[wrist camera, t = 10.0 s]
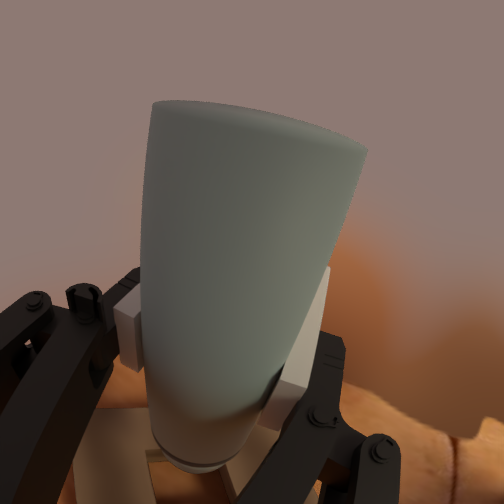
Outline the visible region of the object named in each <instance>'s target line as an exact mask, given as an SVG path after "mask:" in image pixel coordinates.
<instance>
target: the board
mask: <svg viewBox="0 0 504 504" xmlns="http://www.w3.org/2000/svg"><path fill="white" fill-rule="evenodd" d="M260 414H261V413H260ZM259 417H260V415H259ZM259 417H258V419H257V421H256V423H255V425H254V427H253V429H252V431H251V432H250V434H249V436H248V438H247V440H246V442H245V444H244V445H243V447H242V449H241V450H240V452H239V453H238V454H237V455H236V456H235V457H234V458H232V459H231V460H229V461H228V462H226V463H225V464H224V465H223V466H222V467H220V468H218V469H219V472H220V475H221V478H222V481H223V484H224V487H225V490H226V493H227V496H228V499H229V501H230V504H232V503H233V501H234V500H235V499H236V498H237V496H238V495H239V494H240V492H241V491H242V489H243V488H244V487H245V485H246V484H247V483H248V481H249V480H250V478H251V477H252V476H253V474H254V473H255V471H256V470H257V468H258V467H259V466H260V464H261V463H262V461H263V460H264V458H265V457H266V455H267V454H268V452H269V450H270V448H271V447H272V446H273V444H274V443H275V442H276V440H277V439H278V438H279V435H280V431H281V429H280V430H279V432H278V431H275V430H272V429H269V428H266V427H263V426H260V425H257V422H258V420H259ZM281 428H282V427H281ZM161 461H169V460H168V459H167V458H166V457H165V456H164V454H163V452H162V450H161V448H160V447H159V446H158V444H157V443H156V441H155V439H154V437H153V434H152V430H151V423H150V416H149V408H95V410H94V412H93V414H92V417H91V419H90V421H89V423H88V426H87V428H86V430H85V433H84V435H83V437H82V440H81V442H80V444H79V447H78V449H77V452H76V454H75V457H74V459H73V473H74V483H75V492H76V500H77V504H157V501H156V497H155V493H154V489H153V484H152V480H151V475H150V470H149V465H148V462H161ZM318 499H319V498H318V496H317V494H316V492H315V490H314V488H313V487H312V489H311V491H310V493H309V495H308V497H307V498H306V500H305V502H304V504H317V503H318Z"/></svg>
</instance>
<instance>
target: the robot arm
mask: <svg viewBox="0 0 504 504" xmlns="http://www.w3.org/2000/svg"><path fill="white" fill-rule="evenodd" d="M329 274H330V267H328V266H327V268H326V270H325V273H324V275H323V278H322V280H321V282H320V285H319V287H318V290H317V292H316V295H315V297H314V299H313V302H312V304H311V306H310V309H309V311H308V314H307V316H306V318H305V320H304V323H303V325H302V327H301V330H300V332H299V334H298V336H297V338H296V341H295V343H294V345H293V347H292V350H291V352H290V354H289V356H288V358H287V360H286V361H285V364H284V366H283V368H282V370H281V372H280V374H279V376H278V378H277V380H276V382H275V384H274V387H273V389H272V391H271V393H270V395H269V397H268V399H267V401H266V403H265V405H264V407H263V409H262V411H261V414H260V417H259V420H258V422H257V425H260V426H263V427H266V428H269V429H272V430H275V431H278V432H279V430H280V429H281V431H280V435H279V438H278V439H277V440H276V442H275V443H274V444H273V446H272V447H271V448H270V450H269V452H268V454H267V455H266V457H265V458H264V460H263V461H262V463H261V464H260V466H259V467H258V468H257V470H256V471H255V473H254V474H253V476H252V477H251V478H250V480H249V481H248V483H247V484H246V485H245V487H244V488H243V489H242V491H241V492H240V494H239V495H238V496H237V498H236V499H235V500H234V501H233V503H232V504H304V502H305V500H306V498H307V497H308V495H309V493H310V491H311V489H312V487H313V486H314V484H315V482H316V480H317V479H318V480H320V481H321V482H322V485H321V490H320V494H319V499H318V503H317V504H398V503H399V489H400V469H401V453H400V448H399V446H398V444H397V443H396V441H395V440H393V439H392V438H391V437H390V436H387V435H385V434H373V435H371V436H368V437H366V436H364V435H363V434H361V433H359V432H358V431H356V430H354V429H353V428H351V427H350V426H349V425H348V424H347V423H346V422H345V421H344V420H343V418H342V416H341V412H340V410H339V402H340V394H341V387H342V379H343V369H344V360H345V352H346V348H345V346H344V343H343V340H342V338H341V337H338V336H335V335H332V334H329V333H326V332H323V331H320V326H321V321H322V316H323V310H324V305H325V299H326V293H327V287H328V280H329ZM65 292H66V296H67V301H68V306H69V309H66V308H62V307H58V306H55V305H52V302H51V298H50V296H49V295H48V294H47V293H45V292H43V291H33V292H29V293H27V294H25V295H24V296H23V297H21V298H20V299H18V300H17V301H16V302H14V303H13V304H12V305H11V306H9V307H8V308H7V309H5V310H4V311H3V312H2V313H0V504H57V501H58V498H59V496H60V493H61V490H62V487H63V485H64V482H65V479H66V477H67V474H68V472H69V469H70V467H71V464H72V461H73V459H74V457H75V454H76V452H77V449H78V447H79V444H80V442H81V440H82V437H83V435H84V433H85V430H86V428H87V426H88V423H89V421H90V419H91V417H92V414H93V412H94V410H95V408H96V405H97V403H98V401H99V399H100V397H101V395H102V392H103V390H104V388H105V386H106V384H107V382H108V380H109V378H110V376H111V374H112V371H113V367H114V364H113V360H114V359H115V358H116V357H117V356H118V354H119V355H120V361H121V363H122V364H123V365H125V366H127V367H129V368H131V369H132V370H134V371H136V372H138V373H139V371H140V370H141V369H142V368H143V366H144V359H143V344H142V326H141V297H140V267H138V268H135V269H133V270H131V271H130V272H129V273H128V274H127V275H126V276H125V277H124V278H122V279H121V280H120V281H118V283H117V284H115V285H114V286H113V287H111V288H110V289H109V290H108V291H107V292H106V293H105V294H104V295H102V292H101V290H100V289H99V288H98V287H97V286H95V285H92V284H88V283H81V284H76V285H73V286H71V287H69V288H68V289H67V290H66V291H65ZM29 339H30V341H31V343H30V344H29V345H25V343H26V342H27V341H28V340H29ZM281 427H282V428H281Z"/></svg>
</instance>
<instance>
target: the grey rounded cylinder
mask: <svg viewBox="0 0 504 504" xmlns="http://www.w3.org/2000/svg"><path fill="white" fill-rule="evenodd" d="M367 152H368V149H367V148H366V147H365V146H363V145H362V144H360V143H358V142H356V141H354V140H352V139H350V138H348V137H346V136H343V135H341V134H339V133H336V132H333V131H331V130H328V129H325V128H322V127H319V126H316V125H313V124H310V123H307V122H304V121H300V120H297V119H293V118H290V117H286V116H282V115H278V114H274V113H270V112H265V111H261V110H255V109H250V108H245V107H239V106H233V105H226V104H219V103H210V102H200V101H180V100H175V101H174V100H173V101H172V100H171V101H159V102H155V103H153V105H152V112H151V120H150V127H149V136H148V143H147V153H146V162H145V173H144V185H143V201H142V218H141V249H140V297H141V326H142V344H143V359H144V371H145V381H146V391H147V400H148V408H149V416H150V423H151V430H152V434H153V437H154V439H155V441H156V443H157V444H158V446H159V447H160V448H161V450H162V452H163V454H164V456H165V457H166V458H167V459H168V460H169V461H170V462H171V463H172V464H173V465H175V466H176V467H178V468H179V469H181V470H183V471H185V472H188V473H193V474H201V473H207V472H211V471H214V470H217V469H218V468H220V467H222V466H223V465H224V464H225V463H226V462H228V461H229V460H231V459H232V458H234V457H235V456H236V455H237V454H238V453H239V452H240V450H241V449H242V447H243V445H244V444H245V442H246V440H247V438H248V436H249V434H250V432H251V431H252V429H253V427H254V425H255V423H256V421H257V419H258V417H259V415H260V413H261V411H262V409H263V407H264V405H265V403H266V401H267V399H268V397H269V395H270V393H271V391H272V389H273V387H274V384H275V382H276V380H277V378H278V376H279V374H280V372H281V370H282V368H283V366H284V364H285V361H286V360H287V358H288V356H289V354H290V352H291V350H292V347H293V345H294V343H295V341H296V338H297V336H298V334H299V332H300V330H301V327H302V325H303V323H304V320H305V318H306V316H307V314H308V311H309V309H310V306H311V304H312V302H313V299H314V297H315V295H316V292H317V290H318V287H319V285H320V282H321V280H322V278H323V275H324V273H325V270H326V268H327V265H328V262H329V260H330V257H331V255H332V252H333V249H334V247H335V244H336V242H337V239H338V236H339V233H340V231H341V228H342V226H343V223H344V220H345V217H346V214H347V211H348V209H349V206H350V203H351V200H352V197H353V194H354V192H355V189H356V186H357V182H358V180H359V176H360V174H361V170H362V168H363V164H364V161H365V158H366V155H367Z"/></svg>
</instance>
